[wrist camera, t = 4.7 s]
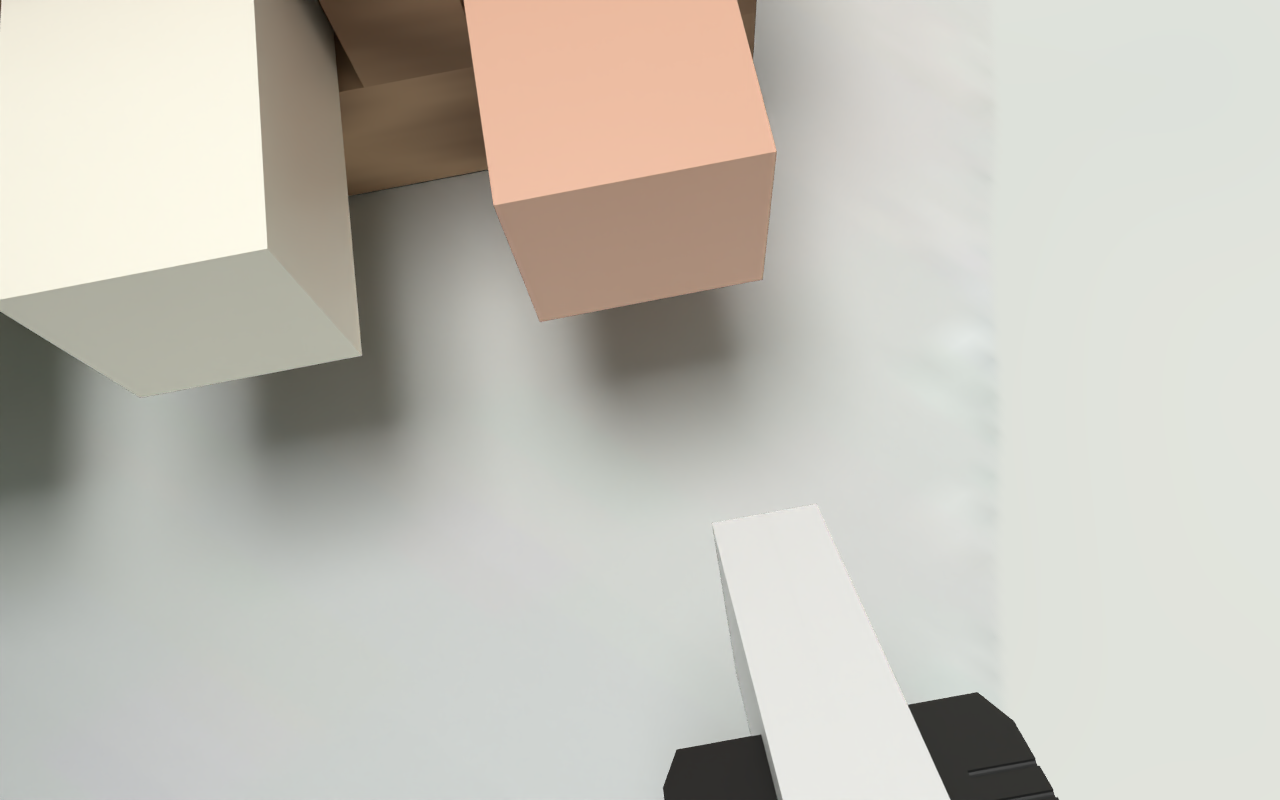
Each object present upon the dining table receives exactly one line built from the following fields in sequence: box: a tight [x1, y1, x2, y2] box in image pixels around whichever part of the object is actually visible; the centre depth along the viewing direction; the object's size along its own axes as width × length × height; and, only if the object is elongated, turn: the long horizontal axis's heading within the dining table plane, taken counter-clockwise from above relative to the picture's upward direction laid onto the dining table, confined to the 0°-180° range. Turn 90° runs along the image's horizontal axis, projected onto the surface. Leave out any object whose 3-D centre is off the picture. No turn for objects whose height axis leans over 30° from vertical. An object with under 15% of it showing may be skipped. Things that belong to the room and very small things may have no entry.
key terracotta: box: [464, 0, 777, 322], centre depth 21 cm, size 5×9×5 cm, turn 10°
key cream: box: [0, 0, 362, 398], centre depth 21 cm, size 5×9×5 cm, turn 10°
